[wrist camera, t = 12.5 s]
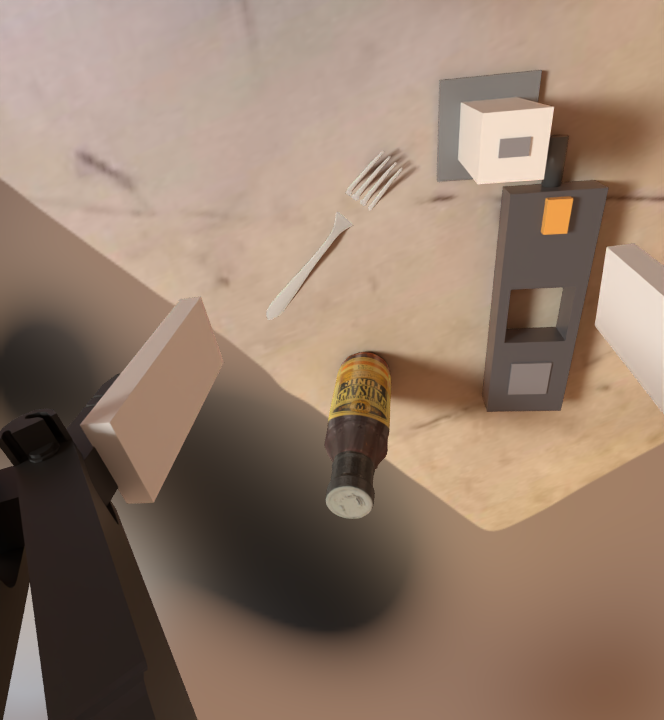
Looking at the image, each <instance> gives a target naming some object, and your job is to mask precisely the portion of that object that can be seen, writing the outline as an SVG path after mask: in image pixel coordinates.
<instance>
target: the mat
mask: <svg viewBox="0 0 664 720" xmlns="http://www.w3.org/2000/svg"><path fill="white" fill-rule="evenodd" d="M541 73H542V70H536V71H526V72H516V73H506V74H496V75H486V76H476V77H466V78H456V79H446V80H440V85H439V122H438V158H437V182H440V181H453V180H467V179H473V178H472V177H471V175H470V174H469V173H468V172H467V170H466V169H465V168H464V166H463V165H462V164H461V163H460V161H459V160H458V150H459V130H460V110H461V102H469V101H479V100H490V99H501V98H512V97H518V98H522V99H526V100H530V101H534V102H537V103H538V97H539V89H540V81H541Z"/></svg>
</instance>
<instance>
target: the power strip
mask: <svg viewBox="0 0 664 720" xmlns="http://www.w3.org/2000/svg"><path fill="white" fill-rule="evenodd" d="M568 138H569V136H568V135H553V136H550V139H549V146H548V153H547V160H546V167H545V174H544V180H542V184H533V185H519V186H505V187H503V191H502V201H501V211H500V221H499V231H498V241H497V251H496V261H495V271H494V281H493V292H492V302H491V312H490V322H489V332H488V342H487V352H486V362H485V372H484V382H483V392H482V397H483V400H484V404H485V407H486V410H487V412H497V411H560V410H561V407H562V403H563V398H564V393H565V389H566V384H567V379H568V375H569V370H570V365H571V361H572V356H573V351H574V346H575V342H576V337H577V332H578V328H579V323H580V318H581V314H582V309H583V304H584V300H585V295H586V290H587V286H588V281H589V276H590V272H591V267H592V262H593V258H594V253H595V248H596V244H597V239H598V234H599V230H600V225H601V220H602V216H603V211H604V206H605V202H606V197H607V192H608V187H606V186H605V185H603V184H601V183H599V182H597V181H596V180H589V181H575V182H561V181H562V175H563V169H564V163H565V157H566V150H567V144H568ZM557 287H563V292H562V298H561V303H560V309H559V314H558V319H557V325H556V327H546V328H518V329H506V325H507V317H508V309H509V301H510V292H511V290H513V289H535V288H557Z"/></svg>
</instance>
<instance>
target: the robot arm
mask: <svg viewBox="0 0 664 720" xmlns="http://www.w3.org/2000/svg"><path fill="white" fill-rule="evenodd" d="M595 327H596V328H597V329H598V331H599V332H600V333H601V334H602V336H603V337H604V338H605V340H606V341H607V342H608V343H609V345H610V346H611V347H612V349H613V350H614V351H615V352H616V354H617V355H618V356H619V357H620V359H621V360H622V361H623V363H624V364H625V365H626V366H627V368H628V369H629V370H630V372H631V373H632V374H633V375H634V377H635V378H636V379H637V381H638V382H639V383H640V384H641V386H642V387H643V388H644V390H645V391H646V392H647V393H648V395H649V396H650V397H651V399H652V400H653V401H654V402H655V404H656V405H657V406H658V408H659V409H660V410H661V411H662V413H663V414H664V266H663V265H662V264H661V263H659V262H658V261H657V260H656V259H654V258H653V257H652V256H650V255H649V254H648V253H646V252H645V251H644V250H642V249H641V248H640V247H638V246H637V245H636V244H634V243H632V244H624V245H616V246H608V247H607V248H606V255H605V261H604V268H603V275H602V281H601V288H600V294H599V301H598V308H597V314H596V321H595ZM222 365H223V359H222V356H221V353H220V350H219V347H218V344H217V342H216V339H215V336H214V333H213V330H212V327H211V324H210V321H209V319H208V316H207V313H206V310H205V307H204V304H203V302H202V299H201V297H194V298H186V299H180V300H179V302H178V303H177V304H176V305H175V307H174V308H173V309H172V310H171V312H170V313H169V314H168V315H167V317H166V318H165V319H164V320H163V322H162V323H161V324H160V325H159V327H158V328H157V329H156V330H155V332H154V333H153V334H152V335H151V337H150V338H149V339H148V340H147V342H146V343H145V344H144V345H143V347H142V348H141V349H140V350H139V352H138V353H137V354H136V356H135V357H134V358H133V359H132V360H131V362H130V363H129V364H128V365H127V367H126V368H125V369H124V370H123V372H122V373H121V374H117V375H115V376H114V377H113V378H111V379H110V380H109V381H107V382H106V383H104V384H103V385H102V386H101V388H100V389H99V390H98V391H97V392H96V394H95V395H94V398H91V400H90V401H89V402H88V403H87V405H86V407H85V408H83V409H82V411H81V412H80V413H79V414H78V415H77V417H76V418H75V419H74V420H73V421H72V423H71V424H70V425H69V426H68V427H67V429H66V428H65V426H64V425H63V423H62V422H61V420H60V419H59V417H58V415H57V414H56V413H55V412H54V411H53V410H52V409H40V410H34V411H32V412H29V413H26V414H23V415H22V416H20V417H18V418H16V419H14V420H12V421H11V422H10V423H8V424H7V425H6V426H5V427H3V428H2V430H1V431H0V448H1V449H2V450H3V452H4V453H5V454H6V456H7V457H8V458H9V460H10V461H11V463H12V464H13V465H14V466H11V467H8V468H4V469H1V470H0V720H3V715H4V711H5V706H6V701H7V696H8V691H9V686H10V679H11V675H12V670H13V665H14V660H15V655H16V650H17V644H18V639H19V634H20V629H21V624H22V619H23V614H24V609H25V603H26V598H27V593H28V588H29V583H30V587H31V595H32V602H33V610H34V617H35V625H36V632H37V640H38V647H39V655H40V661H41V669H42V678H43V685H44V692H45V700H46V708H47V715H48V720H197V717H196V715H195V712H194V709H193V707H192V704H191V702H190V699H189V696H188V694H187V691H186V689H185V686H184V683H183V681H182V678H181V676H180V673H179V671H178V668H177V666H176V663H175V660H174V658H173V655H172V652H171V650H170V647H169V645H168V642H167V640H166V637H165V635H164V632H163V629H162V627H161V624H160V622H159V619H158V616H157V614H156V611H155V608H154V606H153V604H152V601H151V598H150V596H149V593H148V590H147V588H146V585H145V583H144V580H143V578H142V575H141V572H140V570H139V567H138V565H137V562H136V559H135V557H134V554H133V552H132V549H131V547H130V544H129V541H128V539H127V536H126V534H125V531H124V528H123V526H122V523H121V521H120V518H119V515H118V513H117V510H116V508H115V507H114V505H113V503H112V502H111V499H112V497H113V495H114V494H115V492H116V490H117V489H118V490H119V491H120V493H121V494H122V496H123V498H124V499H125V501H126V503H127V504H132V503H152V502H154V501H155V499H156V497H157V495H158V493H159V491H160V489H161V487H162V485H163V483H164V481H165V479H166V477H167V475H168V472H169V471H170V469H171V467H172V464H173V463H174V461H175V459H176V457H177V454H178V453H179V451H180V449H181V447H182V445H183V443H184V441H185V439H186V437H187V434H188V433H189V431H190V429H191V427H192V425H193V423H194V421H195V419H196V417H197V415H198V412H199V411H200V409H201V407H202V405H203V403H204V401H205V399H206V397H207V395H208V393H209V390H210V389H211V387H212V385H213V383H214V381H215V379H216V377H217V375H218V373H219V371H220V368H221V367H222Z"/></svg>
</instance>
